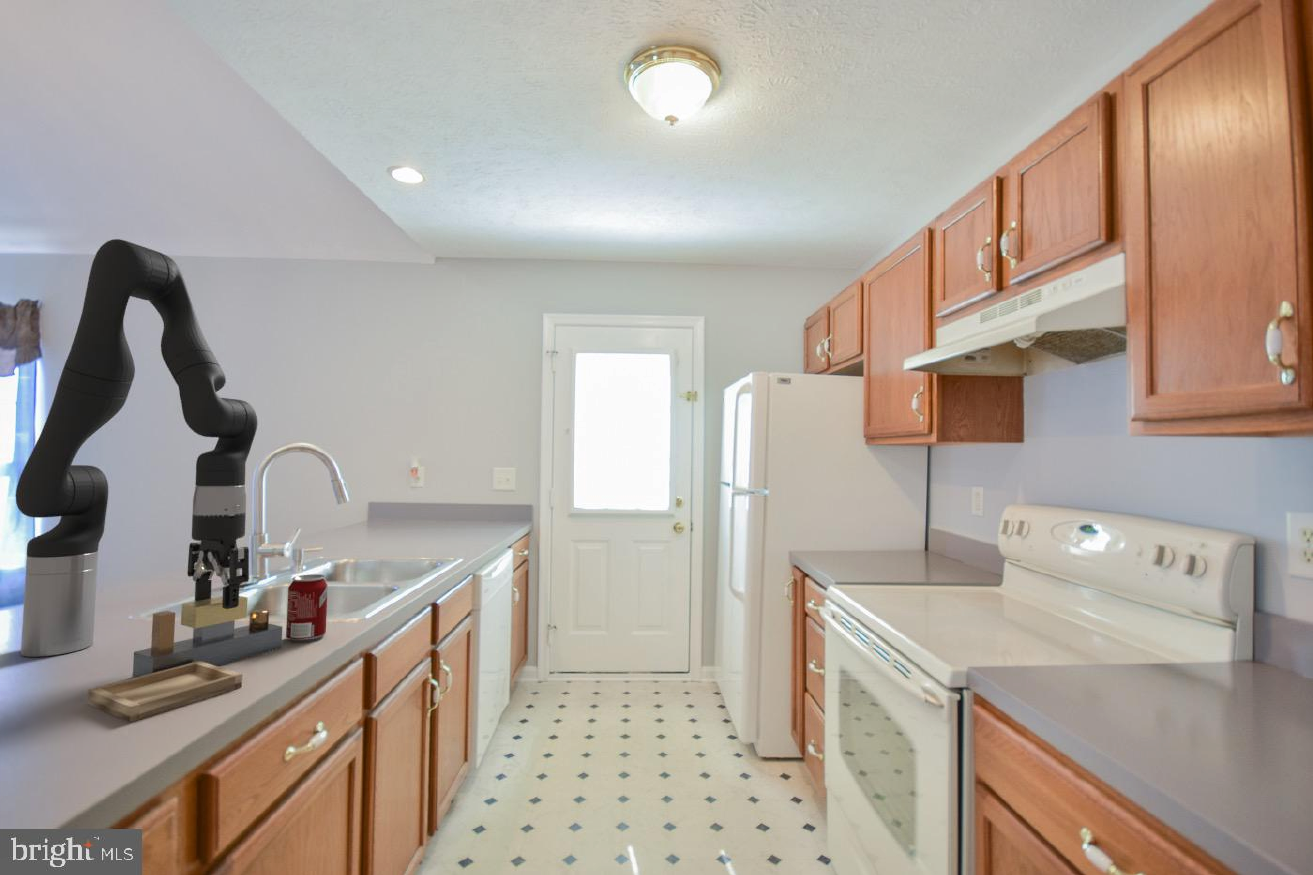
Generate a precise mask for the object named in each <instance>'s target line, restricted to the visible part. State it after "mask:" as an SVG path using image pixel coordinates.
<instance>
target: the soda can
mask: <svg viewBox="0 0 1313 875" xmlns="http://www.w3.org/2000/svg"><path fill="white" fill-rule="evenodd" d="M325 577H326V576H325V575H324V574H318V573H317V574H315V573H313V574H303V575H297V576H293V577H292V580H291V581H292V582H291V583H290V584H289V586H288V588H287V604H286V605H287V607H286V608H287V609H286V625H285V626H286V628H285V631H286V632H285V633H286V634H285V638H286V639H287V640H289V641H291V642H294V643H306V642H307V643H309V642H313V641H316V640H318V639H320V638H321V637H324V636H325V635H326V632H327V613H328V612H327V610H328V589H329V588H328V587H329V586H328V585H329V584H328V583H327V582H326V580H325Z"/></svg>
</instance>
